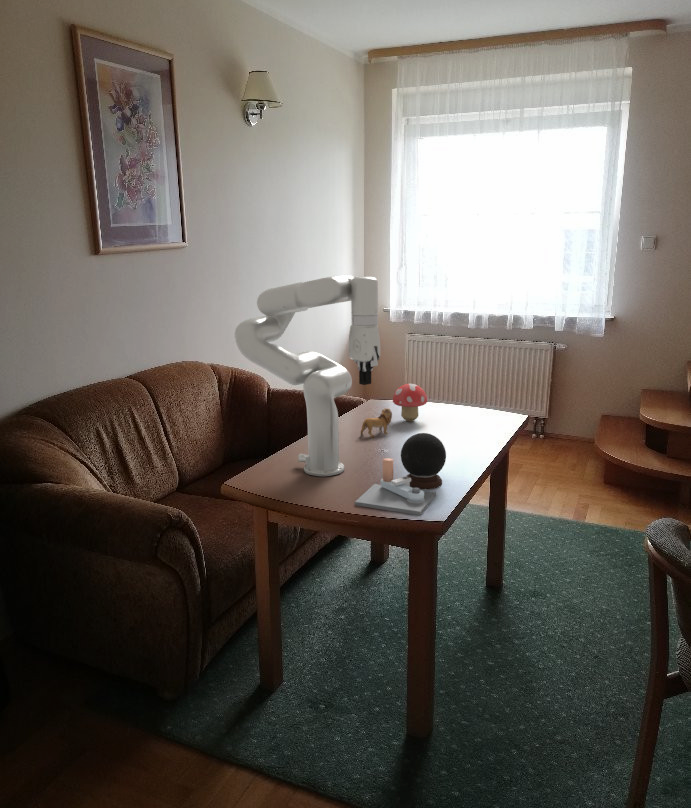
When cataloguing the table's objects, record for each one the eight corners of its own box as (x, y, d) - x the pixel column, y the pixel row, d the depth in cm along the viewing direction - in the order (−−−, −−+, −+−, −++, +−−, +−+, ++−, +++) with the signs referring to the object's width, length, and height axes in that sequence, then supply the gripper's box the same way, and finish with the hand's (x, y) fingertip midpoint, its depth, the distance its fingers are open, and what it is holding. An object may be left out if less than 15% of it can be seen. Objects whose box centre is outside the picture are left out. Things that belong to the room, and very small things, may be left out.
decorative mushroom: (428, 426, 258) (429, 387, 254) (393, 426, 258) (393, 388, 255) (425, 416, 271) (425, 380, 267) (391, 417, 271) (391, 380, 268)
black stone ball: (416, 472, 209) (417, 425, 205) (453, 481, 200) (455, 432, 197) (391, 484, 199) (391, 435, 195) (429, 494, 190) (430, 443, 187)
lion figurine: (386, 429, 255) (386, 406, 252) (395, 432, 251) (395, 408, 248) (355, 436, 246) (355, 412, 244) (365, 440, 242) (365, 415, 240)
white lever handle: (427, 499, 183) (427, 471, 181) (415, 503, 181) (415, 475, 179) (390, 483, 196) (390, 457, 194) (378, 486, 193) (378, 460, 191)
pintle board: (436, 495, 189) (436, 479, 188) (420, 515, 176) (420, 498, 175) (374, 487, 197) (374, 471, 195) (355, 505, 184) (354, 488, 183)
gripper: (339, 319, 196) (340, 381, 201) (369, 324, 184) (370, 390, 189) (360, 317, 200) (360, 378, 205) (391, 322, 188) (391, 386, 193)
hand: (365, 383), depth 197 cm, fingers closed
